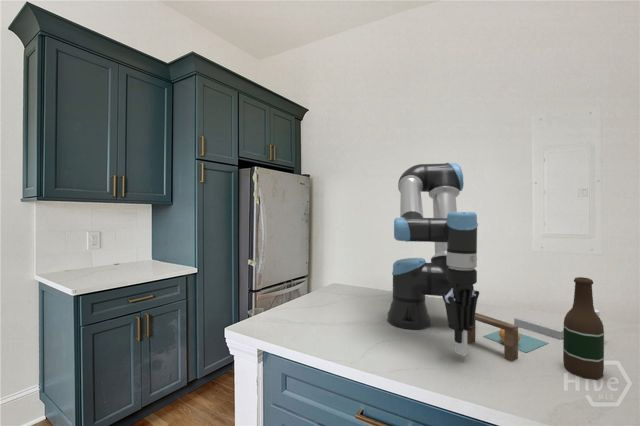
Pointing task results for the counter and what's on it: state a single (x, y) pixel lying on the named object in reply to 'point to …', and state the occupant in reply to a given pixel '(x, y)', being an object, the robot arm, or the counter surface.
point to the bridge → (509, 335)
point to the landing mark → (520, 341)
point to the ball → (501, 334)
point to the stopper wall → (539, 328)
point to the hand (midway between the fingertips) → (461, 353)
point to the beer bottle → (583, 334)
